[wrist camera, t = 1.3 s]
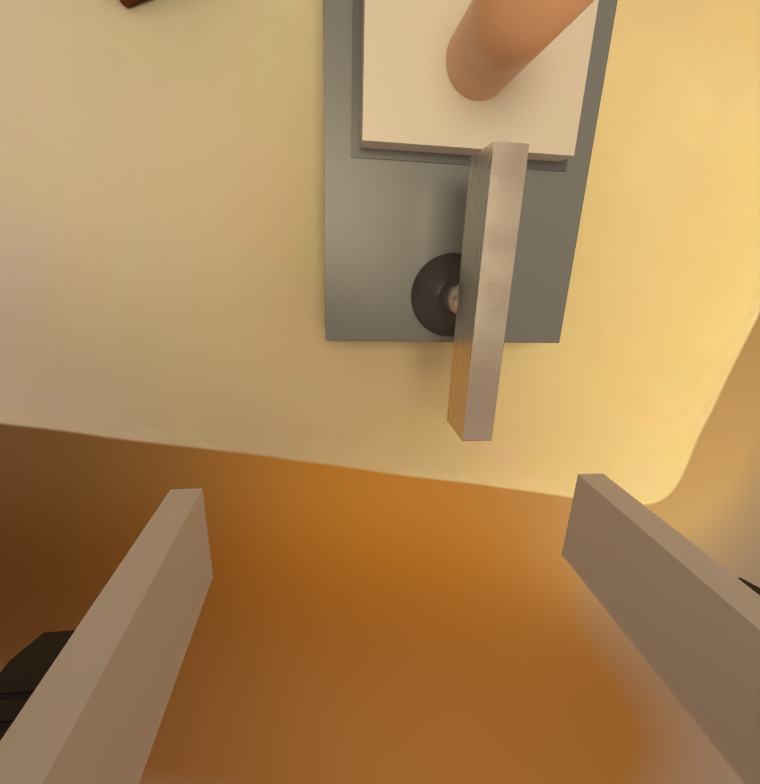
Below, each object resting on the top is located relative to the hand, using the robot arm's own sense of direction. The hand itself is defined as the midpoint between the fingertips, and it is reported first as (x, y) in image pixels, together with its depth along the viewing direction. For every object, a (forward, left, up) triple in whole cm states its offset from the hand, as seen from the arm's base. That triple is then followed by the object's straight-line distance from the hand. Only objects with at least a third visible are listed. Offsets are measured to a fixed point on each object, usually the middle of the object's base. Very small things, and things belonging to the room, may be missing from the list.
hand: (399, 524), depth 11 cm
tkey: (+6, +5, -17) cm, 18 cm away
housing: (+6, +12, -22) cm, 26 cm away
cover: (+6, +17, -17) cm, 24 cm away
